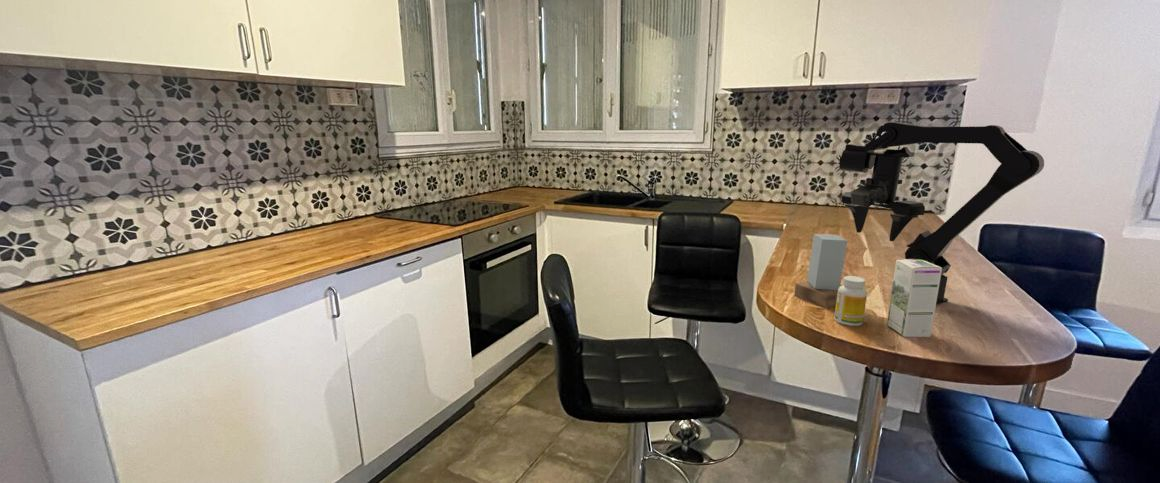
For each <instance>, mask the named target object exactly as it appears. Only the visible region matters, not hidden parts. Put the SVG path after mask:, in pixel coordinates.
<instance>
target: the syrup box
mask: <svg viewBox="0 0 1160 483" xmlns="http://www.w3.org/2000/svg"><path fill="white" fill-rule="evenodd" d="M941 272H942V267H939V266H937V265H934V264H932V263H929V262H927V261H924V260H920V259H905V258H904V259H896V261H895V266H894V273H893V274H894V275H893V280H892V286H891V293H890V301H889V309H888V314H887V315H888V316H887V323H886V326H887V327H888V328H890V329H891V330H893V331H894V332H896V333H897V334H899V335H900V336H902V337H904V338H931V337H932V330H933V324H934V318H935V312H936V308H937V307H936V306H937V303H936V301H937V295H938V290H939V284H940V278H941Z"/></svg>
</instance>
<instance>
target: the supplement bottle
mask: <svg viewBox="0 0 1160 483" xmlns="http://www.w3.org/2000/svg"><path fill="white" fill-rule="evenodd" d="M865 287H866V279H865V278H863V277H860V276H855V275H845V276H844V277H843V280H842V286H840V287H839V289H838V294H837V301H836V306H835V307H834V308H835V309H834V317H833V318H834V320H835V321H836V322H837V323H839V324H841V325H844V326H849V327H858V326H861V325H863V321H864V317H865V310H866V305H867V298H868V291H867V290H866V289H865Z"/></svg>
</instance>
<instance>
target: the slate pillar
mask: <svg viewBox="0 0 1160 483" xmlns="http://www.w3.org/2000/svg"><path fill="white" fill-rule="evenodd" d="M847 246H848V240H847V239H846V238H844V237H843V236H841V235H839V234H825V233H823V234H822V233H814V234H813V238H812V245H811V251H810V257H809V258H810V259H809V265H808V273H807V277H806V278H807V280H806V282H808V283H809V284H810V285H811V286H812V287H813V288H814V289H826V290H838V289H839V287H840V285H841V281H842V276H843V269H844V266H845V265H844V263H845V258H846V252H847Z"/></svg>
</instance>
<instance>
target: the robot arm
mask: <svg viewBox="0 0 1160 483" xmlns="http://www.w3.org/2000/svg"><path fill="white" fill-rule="evenodd" d="M924 143H930V144H933V143H934V144H980V145H981V144H982V145H983V146H985V148H986V149H987V150H988V151H989V153H991V154H992V156H993V157H994V158H995V159H996V160H997V161H998V162H999V163H1000V165H999V166H998V167H997V168H996V169H995V171H994V173H993V174H992V175H991V177H990V179H989V180H988V181H987V183H986V184H985V185H984V186H983V187H982V188H981V189H980V190H979V191H978V192H976V194H974V196H972V197H971V198H970V199H969V200H968V201H967V202H965V204H963V205H962V206H961V207H960V208H959V209H958V210H957V211H956V212H955V213H953V215H952V216H950V217H949V218H948V219H947V220H946V221H945V222H944V223H943V224H942V225H941V226H939V227H938V228H937V229H936V230H935V231H932V233H931V232H930V230H925V231H923V232H921V233H919V234H918V235H917V236H916V238H915V239H914V241H912V242H911V243H908V244H907V245H906V247H907V249H906V250H905V253H904V259H920V260H924V261H927V262H929V263H932V264H934V265H937V266H939V267H942V272H941V278H940V284H939V290H938V295H937V301H936V304H938V303H943V302H944V303H945V302H948V301H949V298H947V297H945V293H946V289H947V288H946V287H947V282H948V277H949V276H946V275H944V274H946V273H948V271H949V270H950V268H951V267H952V265H951V263H950V262H949V261H948V260H947V259H946V258H945V257H944V256H943V255H944V254H945V253H946V251H947V250H948V248H949V247H950V246H951V244H952V242H953V241H954V240H955V239H956V238H957V237H958V236H959V235H961V234H962V233H963V232H964V231H965V230H966V229H967V228H968V227H970V226H971V225H972V224H973V223H975V221H976V220H978V219H979V218H980V217H981V216H983V214H984V213H985V212H987V211H988V210H989V209H990V208H991V207H993V206H994V205H995V204H996V203H997V202H998V201H999V200H1000V199H1001V198H1003V196H1005V195H1007V193H1009V192H1011V191H1013V190H1014V189H1015V188H1017V187H1018V188H1019V186H1021V185H1022V184H1024V183H1026V182H1027V181H1029V180H1031V179H1032V178H1034V177H1035V176H1038V174H1039V173H1041V172H1042V171H1043V169H1044V167H1045V160H1044V157H1043V156H1042V154H1040V153H1039V152H1037V151H1034V150H1028V149H1026V147H1024V146H1023V144H1021V143H1020V142H1018V141H1017V140H1016V139H1015V138H1013V137H1012V136H1011V135H1010V134H1008V132H1006V131H1005V129H1004V128H1003V127H1002V126H1001V125H996V124H994V125H993V124H991V125H985V126H982V125H981V126H925V125H919V124H912V123H906V122H897V121H896V122H895V121H894V122H893V121H888V122H885V123H882V125H880V126H879V127H878V129H877V130H876V133H875V136H874V137H872V139H870V140H869V142H868V143H866V144H865V145H858V144H857V145H856V144H852V143H850V144H849V143H847V144H845V149H844V150H843V151H842V154H841V156H840V157H839V160H838V164H839V166H838V167H839V170H840V171H842V172H843V171H844V172H850V173H851V172H854V173H863V174H864V173H868V171H869V170H872V174H871V177H868V178H867V179H866V182H865V184H864V185H862V186H859V187H857V188H855V189H853V190H851V191H844V193H843V194H842V195H841V199H840V203H843V204H844V207H846V208H848V210H849V211H850V212H851V214H852V217H853V221H854V226H855V230H856V233H858V234H859V233H862V232H863V231H862V230H863V228H864V227H865V223H866V219H867V216H868V212H869V209H870V207H871V206H874V207H881V208H885V209H889V210H890V209H891V211H892V212H893V213H891V214H889V215H890V217H891V220H892V221H891V226H890V233H889V242H894V241H895V240H896V239H897V238H898V236H899V235H900V234H901V232H902V231H903V230H904V229H905V227H907V225H908V224H909V223H910V222H911V221H912V220H913V219H917V218H918V217H919V216H925V212H926V207H925V204H924V203H923V202H920V201H913V200H902V201H901V200H900V201H899V199H900V196H897V190H898V186H899V185H902V183H903V179H900V175H901V170H902V165H903V158H906V159H907V158H913V157H914V153H912V152H911V151H910V150H909V148H908V147H907V146H909V145H915V144H924ZM901 146H903V147H902V148H900V149H894V148H892V147H901ZM890 147H891V148H892V149H891V148H890ZM889 148H890V149H889ZM880 150H885V151H884V152H875V151H880Z"/></svg>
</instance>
